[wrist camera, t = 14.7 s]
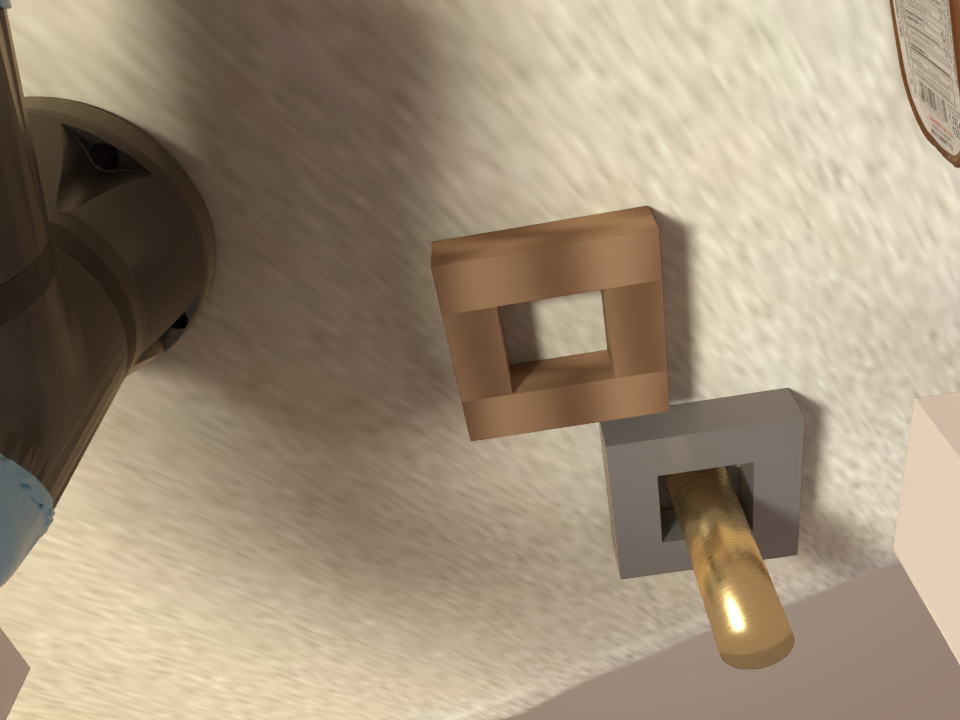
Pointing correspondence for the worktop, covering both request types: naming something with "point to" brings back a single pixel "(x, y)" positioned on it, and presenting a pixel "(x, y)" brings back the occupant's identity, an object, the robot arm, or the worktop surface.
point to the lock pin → (729, 570)
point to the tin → (931, 68)
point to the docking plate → (695, 446)
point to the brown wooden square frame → (546, 274)
